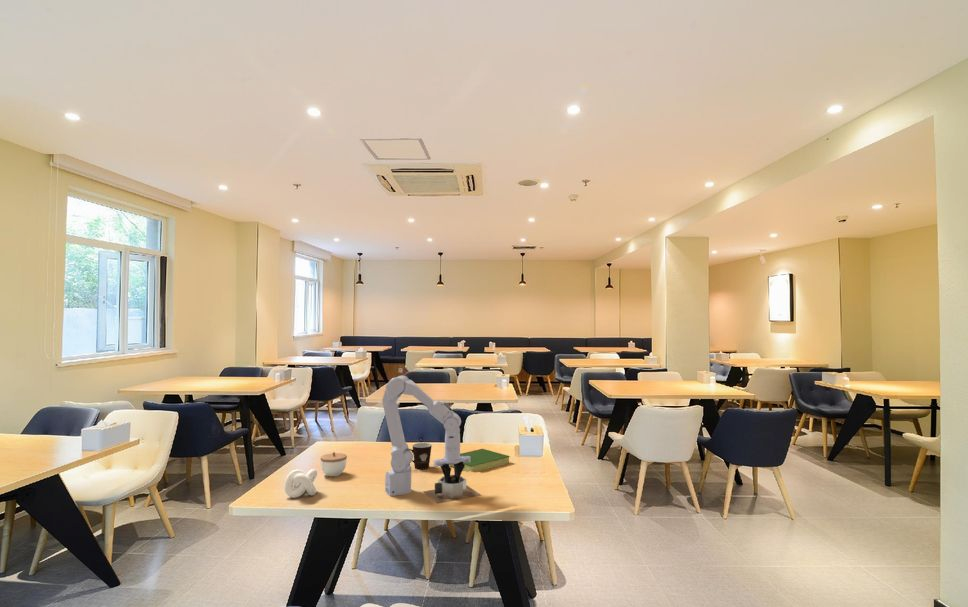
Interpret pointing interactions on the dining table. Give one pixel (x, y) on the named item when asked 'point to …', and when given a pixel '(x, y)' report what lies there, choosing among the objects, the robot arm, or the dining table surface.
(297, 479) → the white knot ornament
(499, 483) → the dining table surface
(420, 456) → the coffee mug
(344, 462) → the lidded jar
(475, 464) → the hardcover book
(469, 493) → the serving board
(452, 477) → the grey knobbed lid
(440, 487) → the silver octagonal piece
